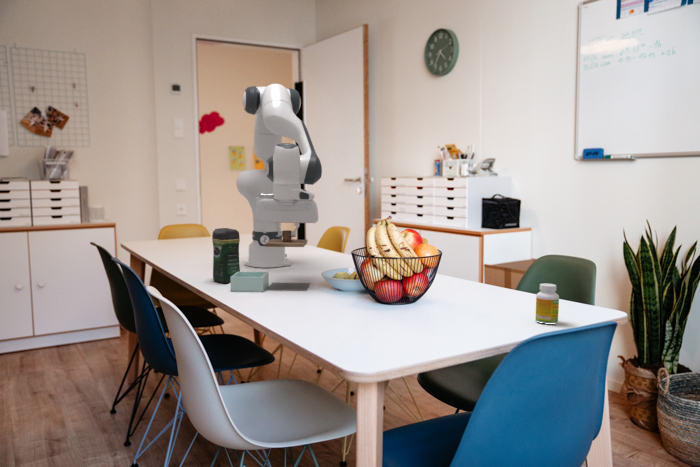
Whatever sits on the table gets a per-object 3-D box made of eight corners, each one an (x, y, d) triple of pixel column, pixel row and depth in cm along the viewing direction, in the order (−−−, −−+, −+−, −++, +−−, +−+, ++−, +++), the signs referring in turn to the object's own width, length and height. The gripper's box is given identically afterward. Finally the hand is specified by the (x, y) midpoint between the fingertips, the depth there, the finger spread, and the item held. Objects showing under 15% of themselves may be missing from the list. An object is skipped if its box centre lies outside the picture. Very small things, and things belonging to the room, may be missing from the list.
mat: (272, 283, 195) (272, 282, 194) (310, 284, 194) (310, 283, 194) (265, 291, 182) (265, 290, 182) (306, 292, 181) (306, 290, 181)
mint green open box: (237, 286, 189) (237, 271, 189) (268, 286, 189) (268, 271, 189) (230, 292, 179) (230, 277, 179) (263, 293, 179) (262, 277, 178)
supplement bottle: (555, 326, 141) (556, 287, 140) (533, 323, 144) (534, 285, 143) (559, 321, 146) (561, 284, 145) (538, 318, 149) (539, 282, 148)
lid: (271, 242, 192) (271, 228, 192) (307, 242, 192) (307, 229, 192) (265, 246, 180) (265, 232, 180) (303, 247, 180) (303, 232, 180)
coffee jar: (244, 282, 198) (243, 228, 196) (223, 284, 192) (222, 229, 190) (229, 278, 205) (228, 226, 203) (209, 280, 199) (208, 227, 197)
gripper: (253, 194, 182) (253, 237, 183) (317, 194, 181) (317, 238, 183) (256, 193, 188) (257, 235, 189) (318, 193, 188) (318, 235, 189)
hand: (287, 236), depth 186 cm, fingers closed on lid, 3 cm apart
